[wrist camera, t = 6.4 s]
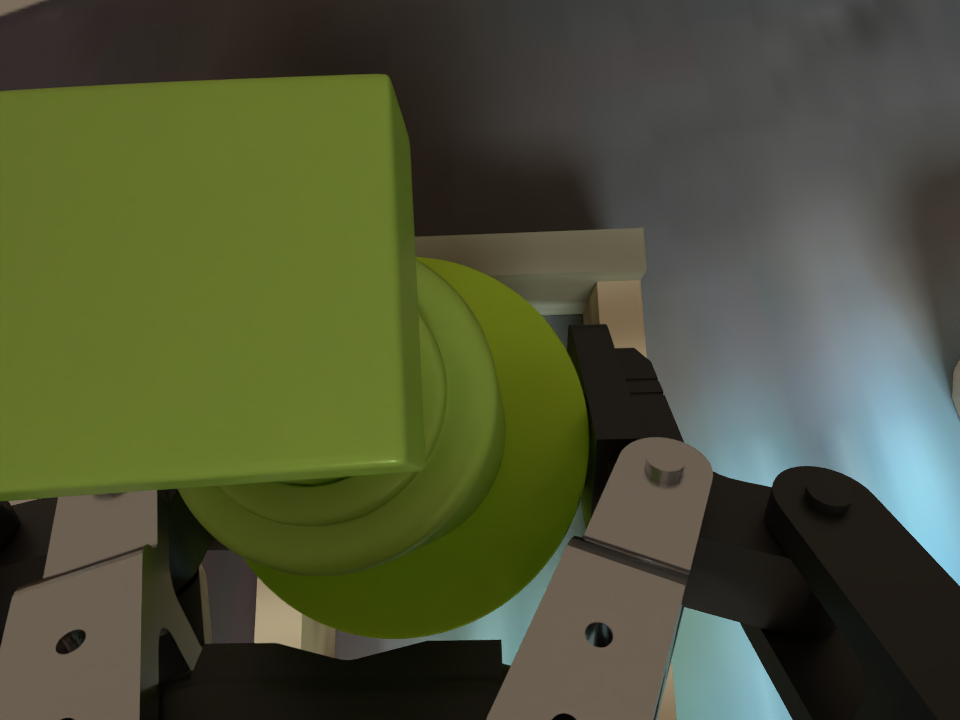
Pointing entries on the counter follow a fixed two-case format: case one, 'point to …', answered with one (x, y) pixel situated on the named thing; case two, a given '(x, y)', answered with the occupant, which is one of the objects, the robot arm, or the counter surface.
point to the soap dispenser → (277, 346)
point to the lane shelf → (551, 291)
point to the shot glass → (956, 388)
